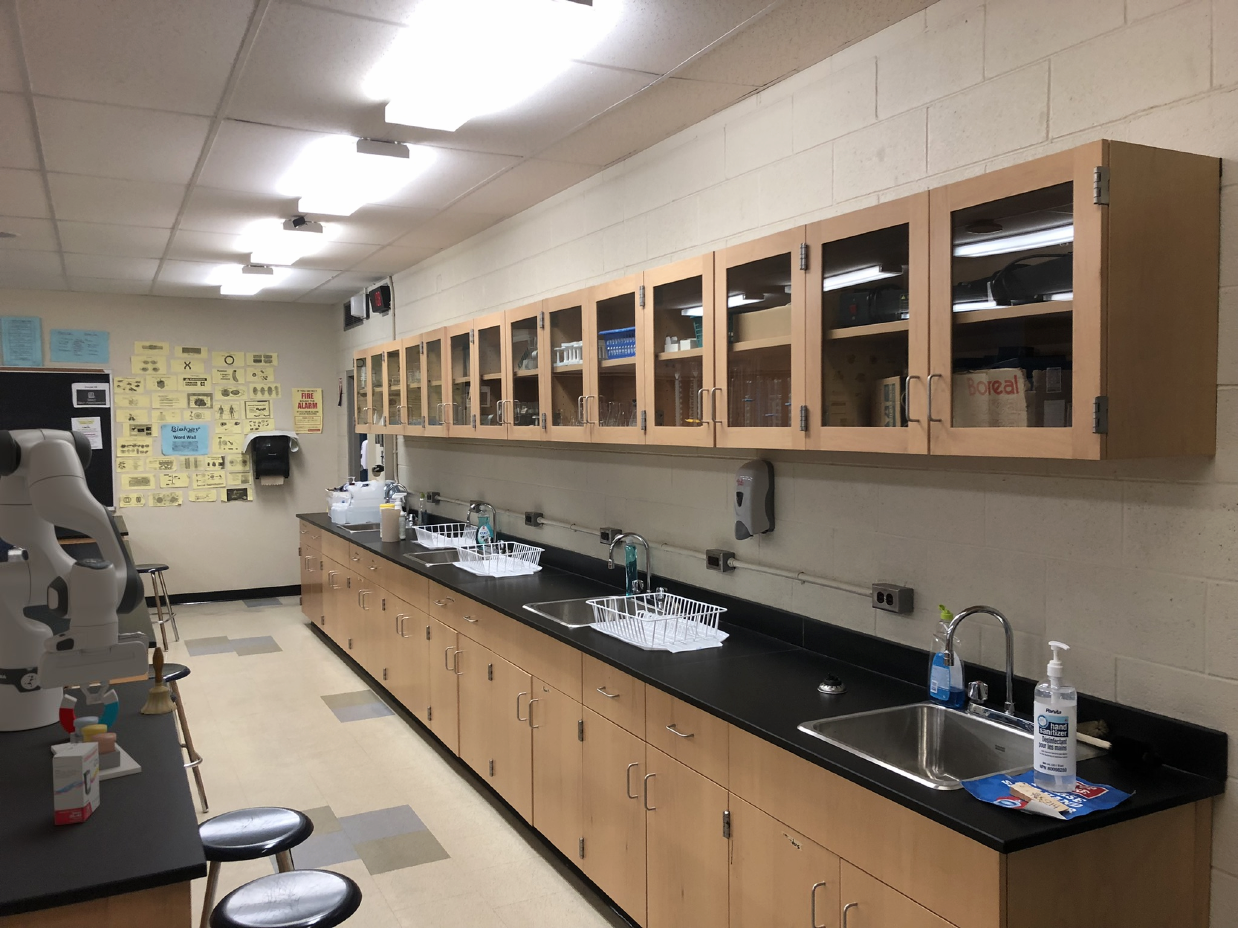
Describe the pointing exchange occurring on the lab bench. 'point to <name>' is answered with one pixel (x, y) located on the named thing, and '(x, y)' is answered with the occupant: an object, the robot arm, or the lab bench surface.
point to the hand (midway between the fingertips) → (94, 703)
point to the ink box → (76, 782)
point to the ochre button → (92, 731)
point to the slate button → (84, 724)
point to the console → (107, 760)
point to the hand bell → (158, 689)
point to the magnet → (107, 719)
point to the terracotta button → (104, 742)
